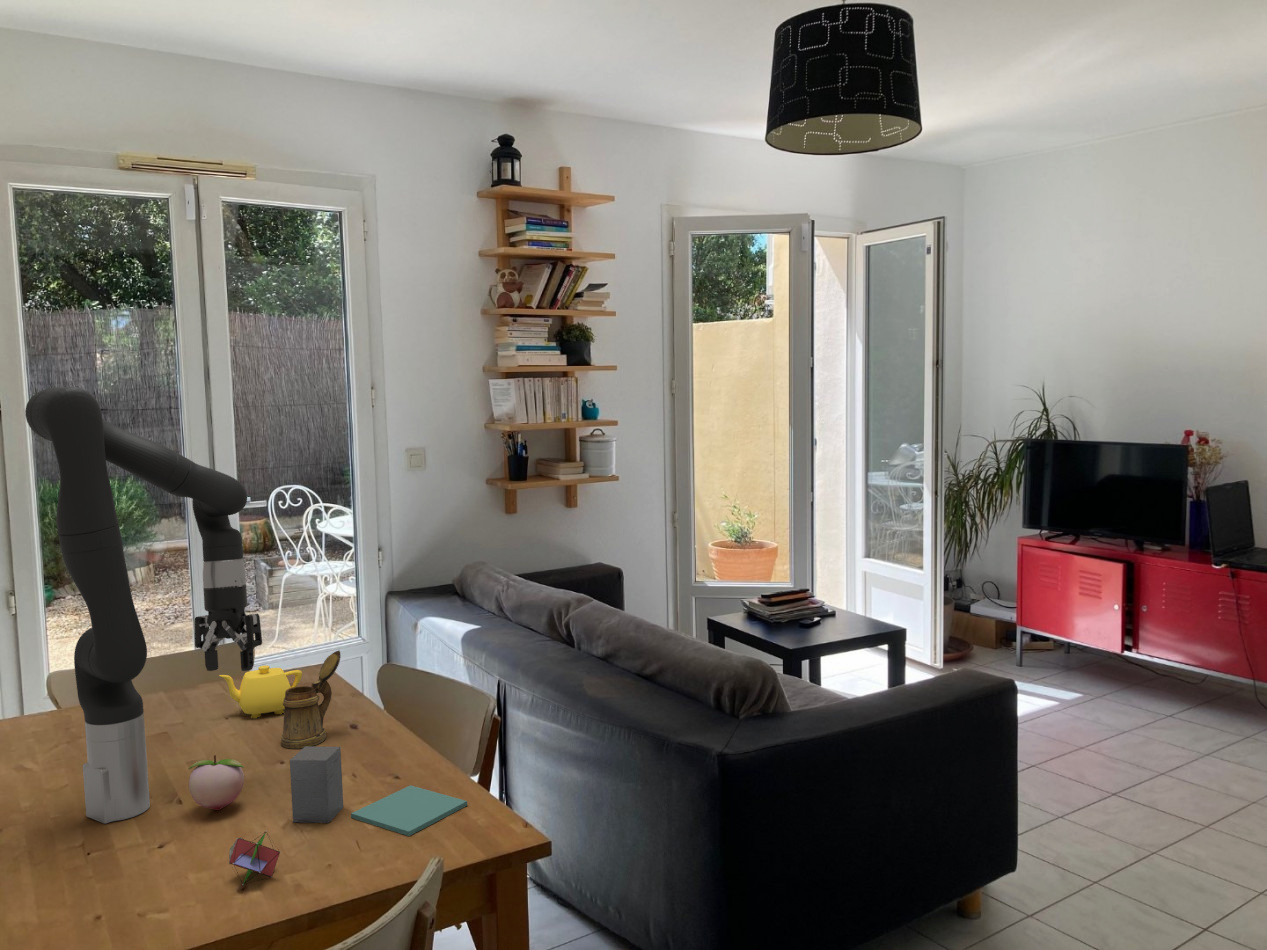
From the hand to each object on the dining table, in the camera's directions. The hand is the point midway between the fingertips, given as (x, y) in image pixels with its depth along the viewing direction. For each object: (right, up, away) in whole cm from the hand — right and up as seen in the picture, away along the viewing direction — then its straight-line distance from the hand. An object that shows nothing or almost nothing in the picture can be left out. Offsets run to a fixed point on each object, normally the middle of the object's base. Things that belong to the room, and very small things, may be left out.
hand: (229, 670), depth 188 cm
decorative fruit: (+3, -23, -12) cm, 26 cm away
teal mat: (+37, -22, -14) cm, 45 cm away
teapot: (-10, -18, +43) cm, 47 cm away
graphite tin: (+21, -22, -14) cm, 34 cm away
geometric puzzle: (+19, -25, -36) cm, 48 cm away
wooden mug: (+8, -20, +24) cm, 32 cm away
